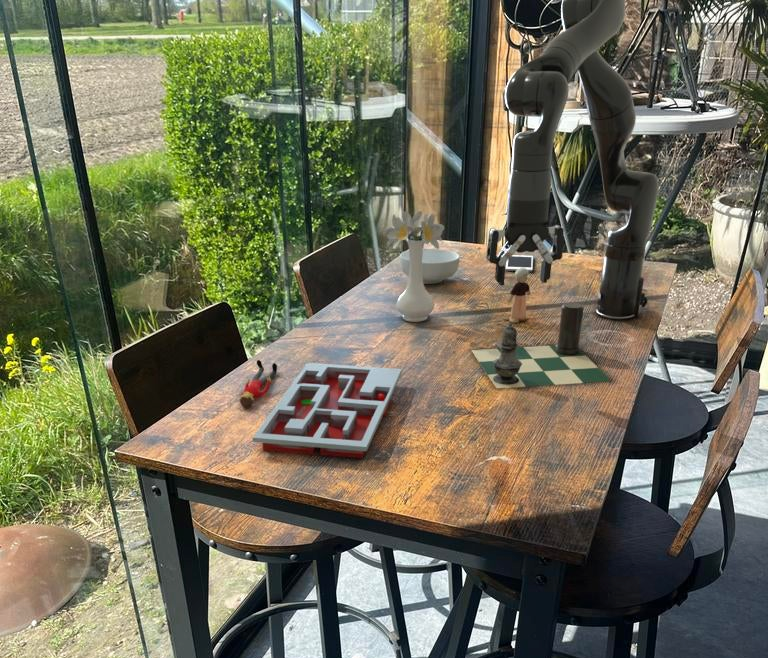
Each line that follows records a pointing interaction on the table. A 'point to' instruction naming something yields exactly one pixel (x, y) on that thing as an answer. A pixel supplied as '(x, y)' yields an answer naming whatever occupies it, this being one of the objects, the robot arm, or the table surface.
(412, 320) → the flower vase
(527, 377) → the chess mat
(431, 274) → the cereal bowl
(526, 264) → the cell phone
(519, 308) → the grandmother figurine
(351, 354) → the table surface
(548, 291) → the table surface
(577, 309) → the dark grey cylinder
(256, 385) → the person figure
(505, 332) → the grey tall turned piece
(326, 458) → the table surface
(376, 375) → the maze game
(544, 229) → the robot arm
